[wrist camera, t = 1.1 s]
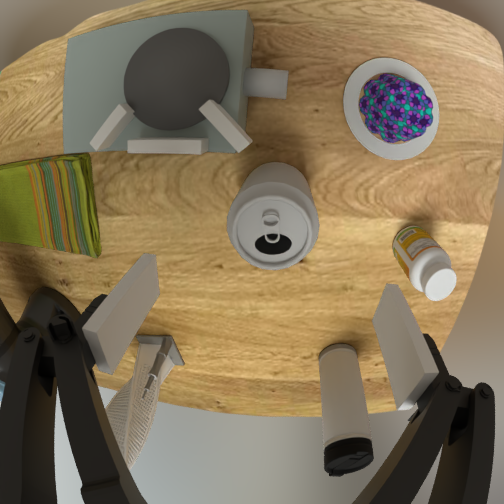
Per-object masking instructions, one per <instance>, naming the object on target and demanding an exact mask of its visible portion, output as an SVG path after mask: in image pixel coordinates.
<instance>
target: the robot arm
mask: <svg viewBox="0 0 504 504" xmlns="http://www.w3.org/2000/svg"><path fill="white" fill-rule="evenodd" d="M159 295H160V291H159V282H158V272H157V262H156V255H154V254H147V253H144V254H143V255H142V256H141V257H140V258H139V259H138V260H137V262H136V263H135V264H134V265H133V266H132V267H131V268H130V270H129V271H128V272H127V273H126V274H125V275H124V277H123V278H122V279H121V280H120V281H119V283H118V284H117V285H116V286H115V287H114V289H113V290H112V291H111V292H110V293H109V295H105V294H101V295H100V296H98V297H96V298H95V299H94V300H93V301H92V302H91V303H90V305H89V306H88V307H87V308H86V309H85V312H83V313H82V314H81V315H80V314H79V312H78V311H77V310H76V309H75V307H74V306H73V305H72V304H71V303H70V302H69V301H68V300H67V299H66V298H65V297H64V296H62V295H61V294H59V293H58V292H56V291H55V290H53V289H50V288H47V287H41V288H38V289H37V290H36V291H35V292H34V293H33V294H32V295H31V296H30V298H29V300H28V304H27V305H26V307H25V309H24V311H23V314H22V316H21V318H20V320H19V321H18V322H17V323H16V324H15V322H14V320H13V319H12V317H11V316H10V314H9V312H8V311H7V309H6V307H5V306H4V304H3V302H2V300H1V298H0V401H1V407H0V504H57V494H56V482H55V463H54V428H55V407H56V394H57V386H58V391H59V398H60V403H61V408H62V412H63V417H64V422H65V426H66V430H67V435H68V438H69V442H70V446H71V449H72V453H73V456H74V459H75V463H76V466H77V469H78V472H79V475H80V478H81V480H82V488H81V495H82V498H83V501H84V503H85V504H147V502H146V501H145V500H144V498H143V497H142V495H141V493H140V492H139V490H138V488H137V486H136V484H135V482H134V480H133V478H132V476H131V473H130V471H129V469H128V467H127V465H126V463H125V460H124V458H123V456H122V453H121V451H120V449H119V446H118V444H117V441H116V439H115V436H114V433H113V431H112V428H111V425H110V423H109V420H108V417H107V414H106V411H105V408H104V405H103V402H102V399H101V395H100V392H99V389H98V385H97V382H96V378H95V375H94V371H93V369H92V368H93V366H94V364H95V363H96V365H97V367H98V369H99V371H102V372H105V373H108V374H111V375H113V373H114V371H115V370H116V368H117V366H118V364H119V362H120V361H121V359H122V357H123V355H124V354H125V352H126V350H127V348H128V347H129V345H130V343H131V341H132V340H133V338H134V336H135V335H136V333H137V331H138V329H139V328H140V326H141V324H142V323H143V321H144V319H145V318H146V316H147V314H148V313H149V311H150V309H151V308H152V306H153V304H154V303H155V301H156V300H157V298H158V296H159ZM372 322H373V325H374V328H375V331H376V335H377V338H378V341H379V344H380V348H381V351H382V355H383V358H384V362H385V365H386V369H387V372H388V376H389V380H390V384H391V387H392V391H393V395H394V399H395V403H396V408H397V410H408V409H411V408H412V407H413V406H414V404H415V403H416V402H417V405H418V409H417V410H416V412H415V413H414V414H413V415H412V416H411V417H410V418H409V420H408V421H410V422H409V424H408V426H407V427H406V429H405V431H404V432H403V434H402V436H401V437H400V439H399V441H398V442H397V444H396V445H395V447H394V448H393V450H392V451H391V453H390V455H389V456H388V457H387V459H386V460H385V462H384V463H383V465H382V466H381V467H380V469H379V470H378V472H377V473H376V474H375V476H374V477H373V478H372V480H371V481H370V482H369V484H368V485H367V486H366V487H365V489H364V490H363V491H362V492H361V494H360V495H359V496H358V497H357V498H356V500H355V501H354V502H353V503H352V504H411V502H412V501H413V499H414V497H415V496H416V494H417V493H418V491H419V489H420V487H421V485H422V484H423V482H424V480H425V479H426V477H427V475H428V473H429V471H430V469H431V467H432V465H433V463H434V461H435V459H436V457H437V455H438V453H439V451H440V449H441V447H442V444H443V447H442V453H441V457H440V462H439V466H438V470H437V474H436V478H435V482H434V485H433V489H432V493H431V496H430V499H429V502H428V504H487V499H488V493H489V488H490V481H491V474H492V464H493V455H494V439H495V398H494V397H495V396H494V392H493V390H492V388H491V387H490V386H489V385H488V384H486V383H482V382H481V383H478V384H477V385H476V387H475V388H474V389H471V388H466V387H463V386H462V384H461V382H460V381H459V380H458V379H457V378H456V377H454V376H451V375H449V373H448V371H447V368H446V366H445V364H444V361H443V359H442V357H441V355H440V352H439V350H438V349H437V346H436V344H435V342H434V340H433V339H432V338H431V337H430V336H429V335H428V334H422V332H421V330H420V328H419V326H418V323H417V321H416V319H415V317H414V315H413V313H412V311H411V309H410V307H409V305H408V303H407V301H406V299H405V297H404V295H403V294H402V292H401V290H400V288H399V286H398V285H396V284H387V283H386V286H385V289H384V291H383V294H382V297H381V299H380V302H379V305H378V307H377V310H376V312H375V315H374V317H373V319H372Z"/></svg>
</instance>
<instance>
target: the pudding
mask: <svg viewBox="0 0 504 504" xmlns="http://www.w3.org/2000/svg"><path fill="white" fill-rule="evenodd" d="M380 73H395V74H398V75H401V76H403V77H405V78H406V79H404V78H401V77H398V76H395V75H391V74H383V75H380V77H379V78H378V80H370V81H368V82H367V83H366V84H365V82H366V81H367V80H368V79H370V78H371V77H373V76H374V75H377V74H380ZM407 79H408V80H407ZM364 84H365V86H364V93H365V95H364V96H363V97H362V98H361V99H360V103H359V107H360V111H361V112H362V113H363V114H364V115H365V116H366V119H365V124H366V126H367V128H368V129H369V130H370V131H371V132H372V133H377V134H380V136H381V138H382V139H383V140H384V141H386V142H390V143H394V142H397V141H400V140H402V141H404V142H405V141H408V140H411V139H412V140H411V141H409V142H406V143H403V144H390V143H386V142H383V141H381V140H379V139H378V138H376V137H375V136H374V135H372V134H371V133H370V131H369V130H368V129H367V128H366V126H365V125H364V123H363V121H362V119H361V116H360V113H359V107H358V99H359V94H360V91H361V89H362V87H363V85H364ZM343 106H344V113H345V117H346V120H347V123H348V125H349V127H350V129H351V131H352V133H353V134H354V136H355V137H356V139H357V140H358V141H359V142H360V143H361V144H362V145H363V146H364V147H365V148H366V149H368V150H369V151H370V152H372V153H374V154H376V155H378V156H380V157H383V158H386V159H391V160H404V159H409V158H412V157H414V156H417V155H418V154H420V153H421V152H423V151H424V150H425V149H426V148H427V147H428V146H429V145H430V143H431V142H432V140H433V139H434V137H435V134H436V132H437V128H438V124H439V106H438V102H437V98H436V96H435V93H434V91H433V89H432V87H431V85H430V84H429V82H428V81H427V79H426V78H425V77H424V76H423V75H422V74H421V73H420V72H419V71H418V70H417V69H416V68H414V67H413V66H411V65H409V64H408V63H405V62H403V61H401V60H397V59H393V58H376V59H372V60H369V61H367V62H365V63H363V64H362V65H360V66H359V67H358V68H357V69H356V70H355V71H354V72H353V73H352V75H351V76H350V77H349V79H348V82H347V84H346V86H345V91H344V98H343Z"/></svg>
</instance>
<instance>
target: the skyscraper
mask: <svg viewBox="0 0 504 504" xmlns="http://www.w3.org/2000/svg"><path fill="white" fill-rule="evenodd" d="M136 338H137V339H138V341H139V347H138V352H137V357H136V362H135V367H134V372H133V376H132V378H131V379H130V380H129V381H128V382H127V383H126V384H125V385H124V386H123V387H122V388H121V389H120V390H119V391H118V392H117V393H116V395H115V396H114V397H113V398H112V400H111V401H110V403H109V404H108V405H107V407H106V409H105V411H106V414H107V417H108V420H109V423H110V425H111V428H112V431H113V433H114V436H115V439H116V441H117V444H118V446H119V449H120V451H121V453H122V456H123V458H124V460H125V463H126V465H127V467H128V469H129V471H130V469H131V468H132V466H133V465H134V463H135V461H136V460H137V458H138V456H139V454H140V452H141V450H142V448H143V446H144V444H145V442H146V440H147V437H148V434H149V431H150V429H151V425H152V422H153V419H154V414H155V411H156V406H157V402H158V396H159V390H160V385H161V384H162V382H163V381H164V379H165V378H166V377H167V375H168V374H169V372H170V371H171V370H172V368H173V367H174V365H184V364H185V363H184V361H183V359H182V357H181V355H180V353H179V351H178V348H177V346H176V344H175V342H174V340H173V338H172V336H160V335H137V336H136Z"/></svg>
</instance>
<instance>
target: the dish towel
mask: <svg viewBox="0 0 504 504" xmlns="http://www.w3.org/2000/svg"><path fill="white" fill-rule="evenodd" d="M0 241H2V242H9V243H18V244H23V245H30V246H37V247H42V248H48V249H53V250H59V251H65V252H70V253H76V254H83V255H87V256H91V257H93V258H98V257H99V256H100V254H101V244H100V236H99V229H98V221H97V213H96V206H95V196H94V186H93V179H92V166H91V159H90V156H89V153H85V154H70V155H61V156H54V157H47V158H41V159H35V160H26V161H21V162H16V163H10V164H7V165H1V166H0Z"/></svg>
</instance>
